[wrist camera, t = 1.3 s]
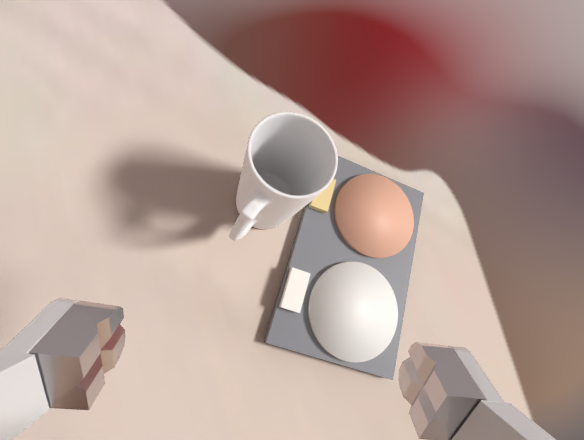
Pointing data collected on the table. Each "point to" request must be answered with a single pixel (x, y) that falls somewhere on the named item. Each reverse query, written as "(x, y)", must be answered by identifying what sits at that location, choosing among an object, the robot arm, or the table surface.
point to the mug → (282, 170)
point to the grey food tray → (350, 272)
